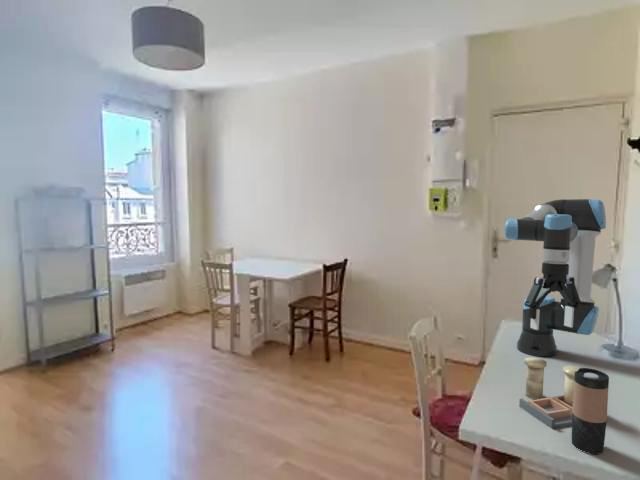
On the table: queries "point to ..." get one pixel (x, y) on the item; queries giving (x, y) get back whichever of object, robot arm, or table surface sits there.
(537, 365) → the cream pawn-shaped knob
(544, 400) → the housing
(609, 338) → the table surface
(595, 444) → the travel mug
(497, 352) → the table surface
